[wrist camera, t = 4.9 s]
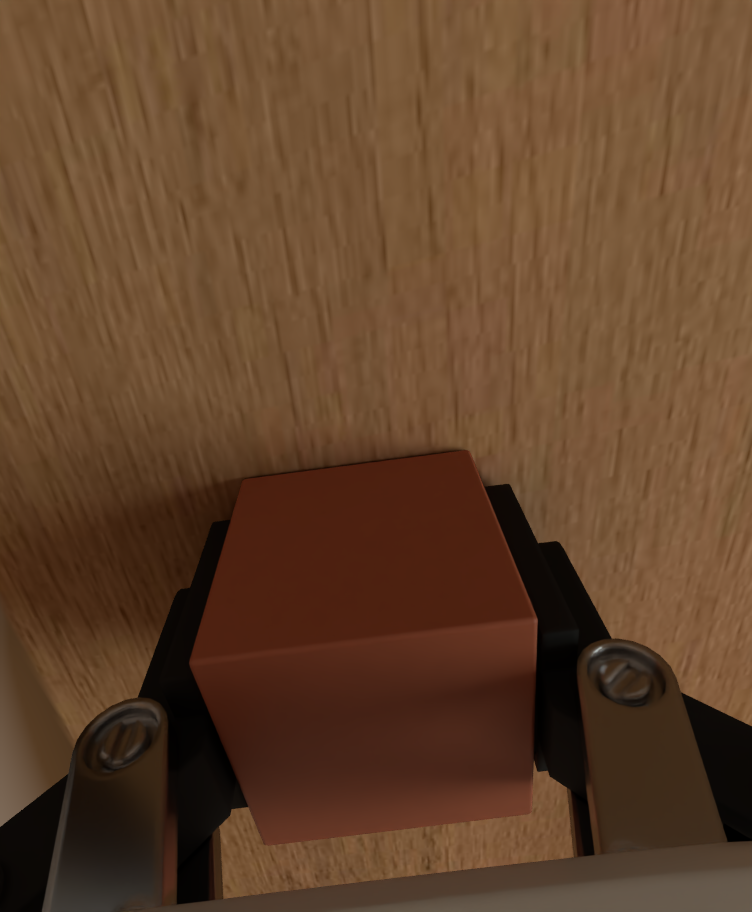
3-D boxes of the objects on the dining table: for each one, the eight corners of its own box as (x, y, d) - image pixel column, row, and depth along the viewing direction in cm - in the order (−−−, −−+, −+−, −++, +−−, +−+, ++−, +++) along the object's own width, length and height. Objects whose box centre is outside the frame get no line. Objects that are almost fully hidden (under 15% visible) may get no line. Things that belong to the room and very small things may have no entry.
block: (241, 477, 11) (186, 664, 7) (469, 447, 11) (539, 619, 7) (286, 638, 13) (263, 849, 9) (477, 614, 13) (533, 815, 9)
